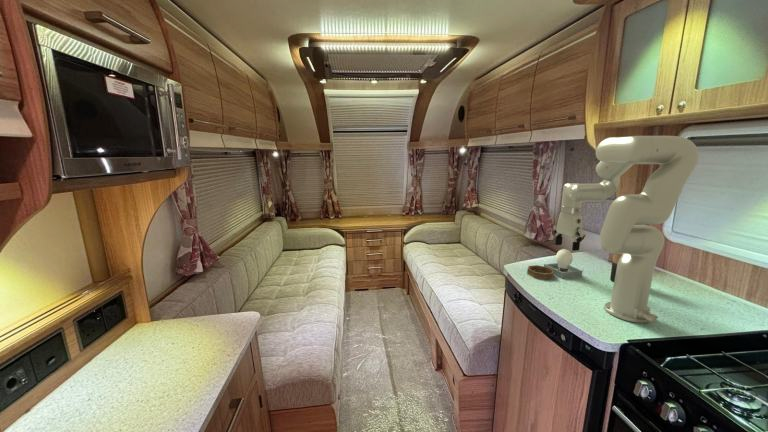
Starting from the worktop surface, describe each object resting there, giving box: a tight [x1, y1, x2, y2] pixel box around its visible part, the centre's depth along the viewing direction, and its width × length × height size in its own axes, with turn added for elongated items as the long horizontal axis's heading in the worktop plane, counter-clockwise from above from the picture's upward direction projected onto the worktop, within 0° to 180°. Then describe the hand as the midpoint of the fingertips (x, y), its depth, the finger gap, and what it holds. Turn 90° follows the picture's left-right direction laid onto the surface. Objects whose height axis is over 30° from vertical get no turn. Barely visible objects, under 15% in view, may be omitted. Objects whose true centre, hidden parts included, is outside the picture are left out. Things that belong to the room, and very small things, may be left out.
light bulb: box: [555, 248, 574, 272], centre depth 138 cm, size 7×7×11 cm
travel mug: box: [609, 254, 622, 283], centre depth 127 cm, size 8×8×20 cm
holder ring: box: [526, 264, 554, 280], centre depth 136 cm, size 10×10×2 cm
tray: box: [543, 262, 583, 279], centre depth 139 cm, size 11×11×3 cm
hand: (566, 247), depth 136 cm, fingers open, 9 cm apart
